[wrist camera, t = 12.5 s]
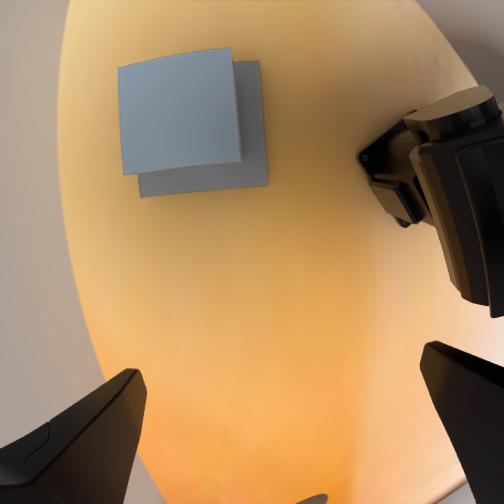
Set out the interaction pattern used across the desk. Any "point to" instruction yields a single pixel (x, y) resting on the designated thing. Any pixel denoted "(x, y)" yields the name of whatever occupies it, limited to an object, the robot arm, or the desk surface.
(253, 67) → the base plate
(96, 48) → the desk surface
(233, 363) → the desk surface
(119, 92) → the pale blue cube
